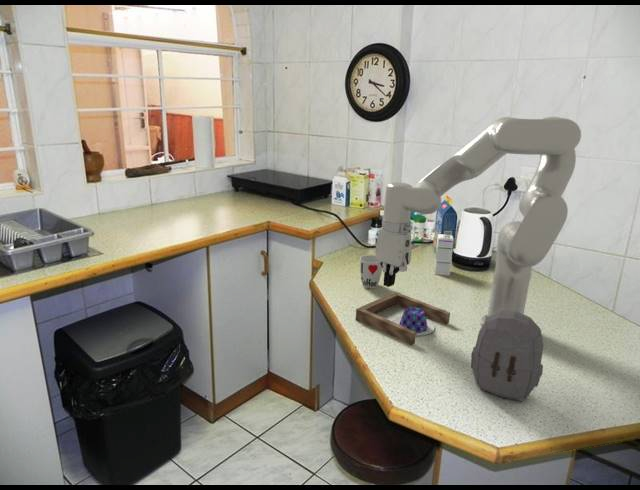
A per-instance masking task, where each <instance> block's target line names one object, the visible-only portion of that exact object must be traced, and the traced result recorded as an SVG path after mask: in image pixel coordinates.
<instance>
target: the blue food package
mask: <svg viewBox="0 0 640 490" xmlns="http://www.w3.org/2000/svg"><path fill="white" fill-rule="evenodd" d="M444 195H445V198H444V199H443V201H441V205H440V207H439V209H438V210H437V211H436V212H435V213H436V214H435V221H434V222H435V223H434V232H433V233H434V234H433V240H432V251H433V250H434V251H433V252H434V254H435V255H436V248H437V239H438V234H446V235H452V236H453V240H454V241H453V249H454V248H455V242H456V241H455V240H456V234H457V225H458V213H457V211H456V210H455V208H454V207H453V198H451V197H450V195H448V194H447V193H445V194H444ZM454 250H455V249H454ZM454 250H453V251H452V253H453V254H454Z"/></svg>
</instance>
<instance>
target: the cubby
mask: <svg viewBox="0 0 640 490" xmlns="http://www.w3.org/2000/svg"><path fill="white" fill-rule="evenodd" d="M396 306H398V307H401V308H404V310H405V309H407V308H410V307H411V308H413V307H416V308H420V309H422V310H423V311H424V312H425V314H426V318H427V319H430V320H433V321H434V322H438V323H441V324H443V325H449V324H450V318H451V312H450V311H447V310H444V309H442V308H440V307H436V306H434V305H431V304H429V303H426V302H423V301H421V300H418V299H415V298H413V297H410V296H407V295H406V294H402V293H400V292H396V291H394V292H392V293H390V294H387V295H384V296H383V297H381V298H378V299H376V300H374V301H372V302H369V303H367V304H364V305H361V306H360V307H358V308H356V310H355V311H356V312H355V321H358V322H360V323H362V324H364V325H367V326H368V327H371V328H373V329H376V330H377V331H379V332H382V333H384V334H386V335H389V336H390V337H393V338H395V339H397V340H399V341H401V342H403V343H406V344H408V345H410V346H413V345H415V344H416V336H417V335H416V332H415V331H413V330H411V329H408V328H406V327H404V326H401V325H399V324H397V323H394V322H393V320H389V319H387V318H385V317H383V316H381V315H378V314H381V313H383V312H385V311H387V310H390V309H391V308H393V307H396Z"/></svg>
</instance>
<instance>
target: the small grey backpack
mask: <svg viewBox="0 0 640 490" xmlns="http://www.w3.org/2000/svg"><path fill="white" fill-rule="evenodd" d="M526 315H527V314H525V313H524V314H522V313H519V312H517V311H500V312H498V313H496V314H494V315H491V316H489V317H487V318H486V319H485V322H484V324H483V325H481V328H480V329H479V331H478V334H477V339H476V343H475V346H473V348H472V350H471V354H470V356H471V357H470V368H471V369H472V373H473V376H474V379H475V384H476V385H477V386H478V387H479V388H481V389H482V390H483V391H486V392H489V393H491V394H493V395H496V396H498V397H502V398H507V399H510V400H516V401H517V400H518V401H524V400H527V398H528V397H529V396H530V395H531V393H532V391H533V390H534V389H535V388H536V387H538V386H539V382H540V380H541V377H542V376H543V372H544V371H543V370H544V365H543V364H542V359H543V352H544V351H543V350H544V346H545V345H544V341H543V337H542V336H543V335H542V329H541V327H540V326H539V325H538V324H537V323H536V322H535V321H534V320H533V319H532V318H531V316H528V315H527V316H526Z"/></svg>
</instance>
